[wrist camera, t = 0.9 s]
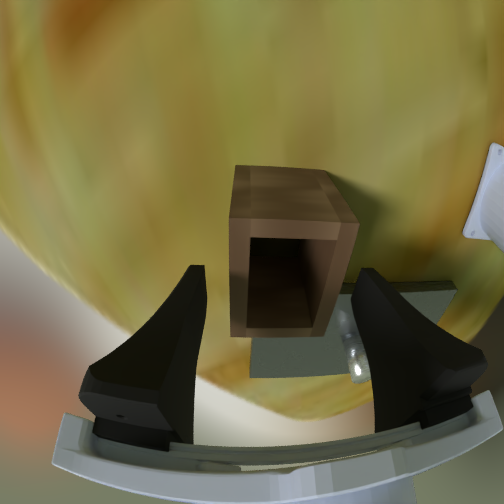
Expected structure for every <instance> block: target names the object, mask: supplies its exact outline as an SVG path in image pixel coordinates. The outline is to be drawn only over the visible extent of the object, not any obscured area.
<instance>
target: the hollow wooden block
mask: <svg viewBox="0 0 504 504" xmlns="http://www.w3.org/2000/svg"><path fill="white" fill-rule="evenodd" d="M359 226H360V223H359V221H358V220H357V218H356V217H355V215H354V213H353V212H352V210H351V209H350V207H349V206H348V204H347V203H346V201H345V200H344V198H343V197H342V195H341V194H340V192H339V191H338V189H337V188H336V186H335V185H334V183H333V182H332V180H331V179H330V178H329V176H328V175H327V173H326V172H325V171H324V170H315V169H302V168H288V167H270V166H244V165H236V166H235V174H234V181H233V189H232V197H231V205H230V214H229V286H230V335H231V337H251V338H290V337H324V335H325V332H326V329H327V327H328V324H329V321H330V318H331V316H332V313H333V310H334V307H335V304H336V301H337V298H338V296H339V293H340V290H341V286H342V283H343V280H344V277H345V274H346V271H347V268H348V264H349V261H350V258H351V254H352V251H353V247H354V244H355V240H356V237H357V233H358V229H359ZM250 237H261V238H292V239H300V246H299V252H298V257H260V256H250Z"/></svg>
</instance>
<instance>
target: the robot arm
mask: <svg viewBox="0 0 504 504" xmlns="http://www.w3.org/2000/svg"><path fill="white" fill-rule="evenodd" d="M498 150H499V151H498ZM463 235H464V236H465V237H466V238H475V239H485V240H492V241H493V242H494V243H495V244H496V245H497V246H498V247H499V248H500V250H501V251H502V252H503V253H504V147H502V146H500V145H498V144H496V143H492V144H491V145H490V148H489V153H488V157H487V160H486V164H485V168H484V171H483V175H482V178H481V181H480V185H479V188H478V191H477V194H476V197H475V200H474V203H473V206H472V208H471V211H470V214H469V216H468V219H467V222H466V224H465V227H464V229H463ZM350 300H351V305H352V310H353V315H354V319H355V322H356V325H357V328H358V331H359V334H360V337H361V340H362V343H363V346H364V349H365V352H366V356H367V360H368V364H369V369H370V375H371V381H372V389H373V398H374V411H375V433H374V434H369V435H365V436H360V437H354V438H349V439H343V440H337V441H330V442H322V443H313V444H304V445H292V446H275V447H222V446H205V445H193V422H194V395H195V379H196V367H197V360H198V354H199V349H200V344H201V339H202V334H203V329H204V324H205V319H206V308H207V290H206V279H205V266H204V265H190V266H189V267H188V269H187V270H186V272H185V273H184V275H183V277H182V278H181V280H180V281H179V283H178V284H177V286H176V287H175V288H174V290H173V291H172V292H171V294H170V295H169V297H168V298H167V299H166V300H165V302H164V303H163V304H162V305H161V306H160V308H159V309H158V310H157V311H156V312H155V314H154V315H153V316H152V317H151V318H150V319H149V320H148V321H147V322H146V323H145V324H144V325H143V326H142V327H141V328H140V329H139V330H138V331H137V332H136V333H135V334H134V335H132V336H131V337H130V338H129V339H128V340H127V341H125V342H124V343H123V344H122V345H120V346H119V347H118V348H116V349H115V350H114V351H112V352H111V353H109V354H108V355H107V356H105V357H103V358H102V359H100V360H98V361H97V362H95V363H94V364H92V365H90V366H89V368H88V370H87V372H86V374H85V376H84V379H83V382H82V385H81V389H80V392H79V395H78V396H79V399H80V401H81V402H82V403H83V404H84V405H85V406H86V407H87V408H88V409H89V410H90V411H91V412H92V413H93V414H94V415H95V416H96V418H95V422H92V421H90V420H88V419H85V418H82V417H78V416H75V415H72V414H69V413H64V415H63V418H62V422H61V426H60V429H59V433H58V437H57V441H56V446H55V450H54V454H53V459H52V464H53V465H55V466H57V467H59V468H61V469H63V470H66V471H69V472H71V473H73V474H75V475H78V476H80V477H83V478H86V479H88V480H92V481H94V482H97V483H100V484H104V485H107V486H110V487H113V488H117V489H120V490H124V491H128V492H132V493H136V494H140V495H145V496H150V497H154V498H160V499H165V500H171V501H178V502H186V503H194V504H417V501H416V495H415V489H414V483H413V478H412V476H415V475H417V474H420V473H422V472H425V471H427V470H430V469H432V468H434V467H437V466H439V465H441V464H443V463H445V462H447V461H449V460H451V459H453V458H456V457H458V456H459V455H461V454H463V453H465V452H467V451H469V450H471V449H473V448H474V447H476V446H478V445H480V444H481V443H483V442H485V441H486V440H488V439H489V438H491V437H492V436H494V435H495V434H497V433H499V432H500V431H502V430H503V426H502V423H501V420H500V417H499V414H498V411H497V409H496V406H495V404H494V401H493V398H492V396H491V393H490V391H489V390H488V391H485V392H483V393H481V394H479V395H476V396H475V397H473V398H472V399H471V398H470V395H469V394H470V393H472V389H471V387H470V386H471V385H472V384H473V383H474V382H475V381H476V380H477V379H478V378H479V377H480V376H481V375H482V374H483V373H484V372H485V370H486V369H487V366H488V363H487V361H486V358H485V356H484V354H483V352H482V350H481V349H478V348H476V347H474V346H472V345H470V344H467V343H465V342H463V341H462V340H460V339H458V338H456V337H454V336H453V335H451V334H449V333H448V332H446V331H445V330H443V329H442V328H440V327H439V326H437V325H436V324H435V323H433V322H432V321H431V320H429V319H428V318H427V317H425V316H424V315H423V314H422V313H420V312H419V311H418V310H417V309H416V308H415V307H414V306H412V305H411V304H410V303H409V302H408V301H407V300H406V299H405V298H404V297H403V296H402V295H401V294H400V293H399V292H398V291H396V290H395V289H394V288H393V287H392V286H391V285H390V284H389V283H388V282H387V281H386V280H385V279H384V278H383V277H382V276H381V275H380V274H379V273H378V272H377V271H376V270H375V269H373V268H361V271H360V274H359V277H358V279H357V282H356V285H355V288H354V291H353V293H352V296H351V299H350ZM378 449H379V450H378ZM374 450H377V451H375V452H371V453H367V454H362V455H357V456H353V457H347V458H342V459H336V460H329V461H324V462H318V463H313V464H308V465H304V466H297V467H288V468H279V469H268V470H255V471H241V468H240V467H239V466H233V465H279V464H293V463H304V462H313V461H321V460H328V459H334V458H340V457H346V456H351V455H356V454H361V453H366V452H370V451H374Z"/></svg>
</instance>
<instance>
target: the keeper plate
mask: <svg viewBox="0 0 504 504" xmlns="http://www.w3.org/2000/svg"><path fill="white" fill-rule="evenodd" d="M389 284H390V285H391V286H392V287H393V288H394V289H395V290H396V291H398V292H399V293H400V294H401V295H402V296H403V297H404V298H405V299H406V300H407V301H408V302H409V303H410V304H411V305H412V306H414V307H415V308H416V309H417V310H418V311H419V312H420V313H422V314H423V315H424V316H425V317H427V318H428V319H429V320H431V321H432V322H433V323H435V324H437V322H438V321H439V319H440V318H441V316H442V315H443V313H444V312H445V310H446V308H447V307H448V305H449V304H450V302H451V300H452V299H453V297H454V295H455V293H456V292H457V290H458V289H457V288H456V286H455V285H454V283H453V282H452V281H434V282H396V283H389ZM355 285H356V283H342V286H341V290H340V293H339V296H338V298H337V301H336V304H335V307H334V310H333V313H332V316H331V318H330V321H329V324H328V327H327V329H326V332H325V335H324V337H290V338H252V341H251V355H250V378H286V377H309V376H324V375H337V374H347V373H350V375H351V379H352V382H353V383H363V382H366V381H368V380H370V379H371V375H370V369H369V364H368V360H367V356H366V352H365V349H364V346H363V343H362V340H361V337H360V334H359V331H358V328H357V325H356V322H355V319H354V315H353V310H352V305H351V300H350V299H351V296H352V293H353V291H354V288H355Z"/></svg>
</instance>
